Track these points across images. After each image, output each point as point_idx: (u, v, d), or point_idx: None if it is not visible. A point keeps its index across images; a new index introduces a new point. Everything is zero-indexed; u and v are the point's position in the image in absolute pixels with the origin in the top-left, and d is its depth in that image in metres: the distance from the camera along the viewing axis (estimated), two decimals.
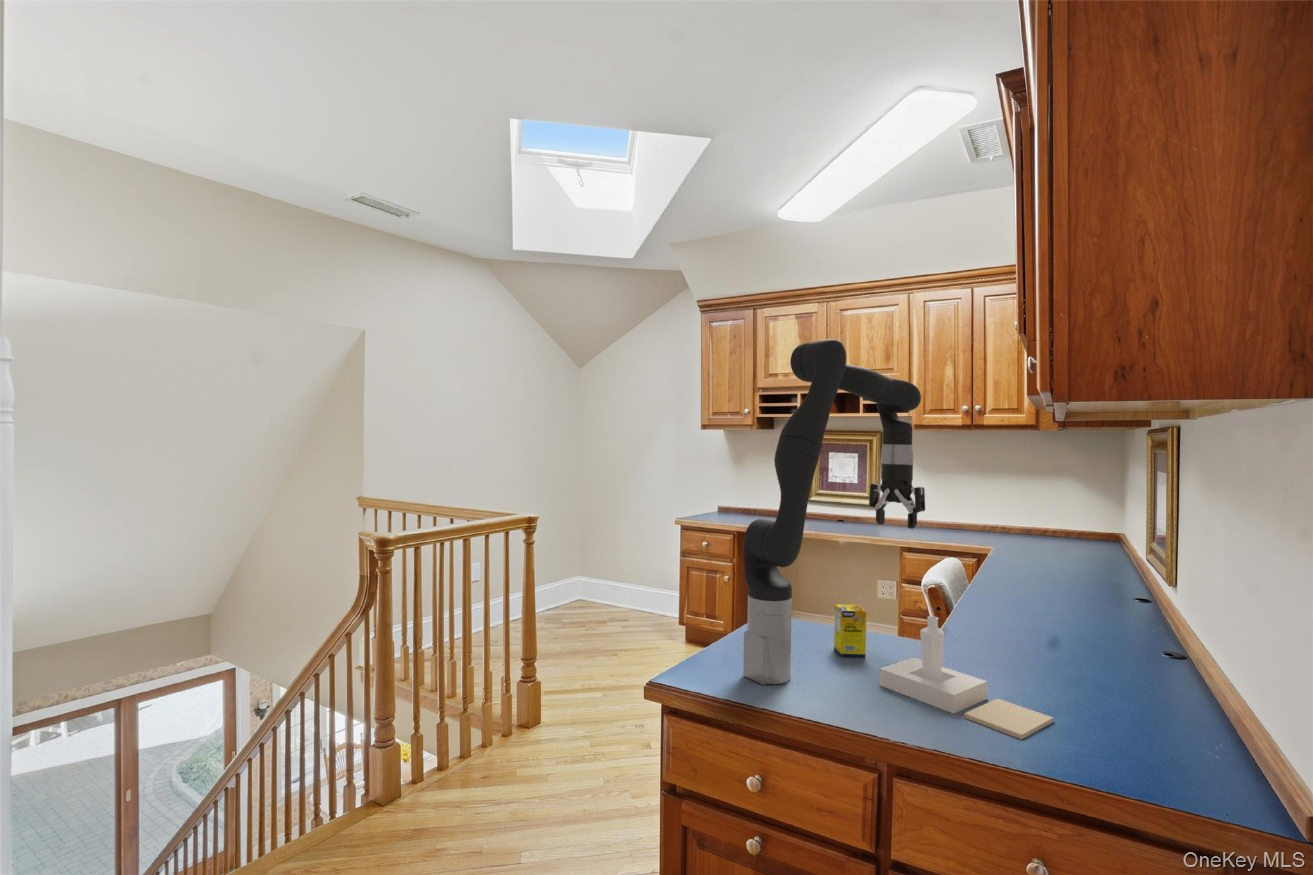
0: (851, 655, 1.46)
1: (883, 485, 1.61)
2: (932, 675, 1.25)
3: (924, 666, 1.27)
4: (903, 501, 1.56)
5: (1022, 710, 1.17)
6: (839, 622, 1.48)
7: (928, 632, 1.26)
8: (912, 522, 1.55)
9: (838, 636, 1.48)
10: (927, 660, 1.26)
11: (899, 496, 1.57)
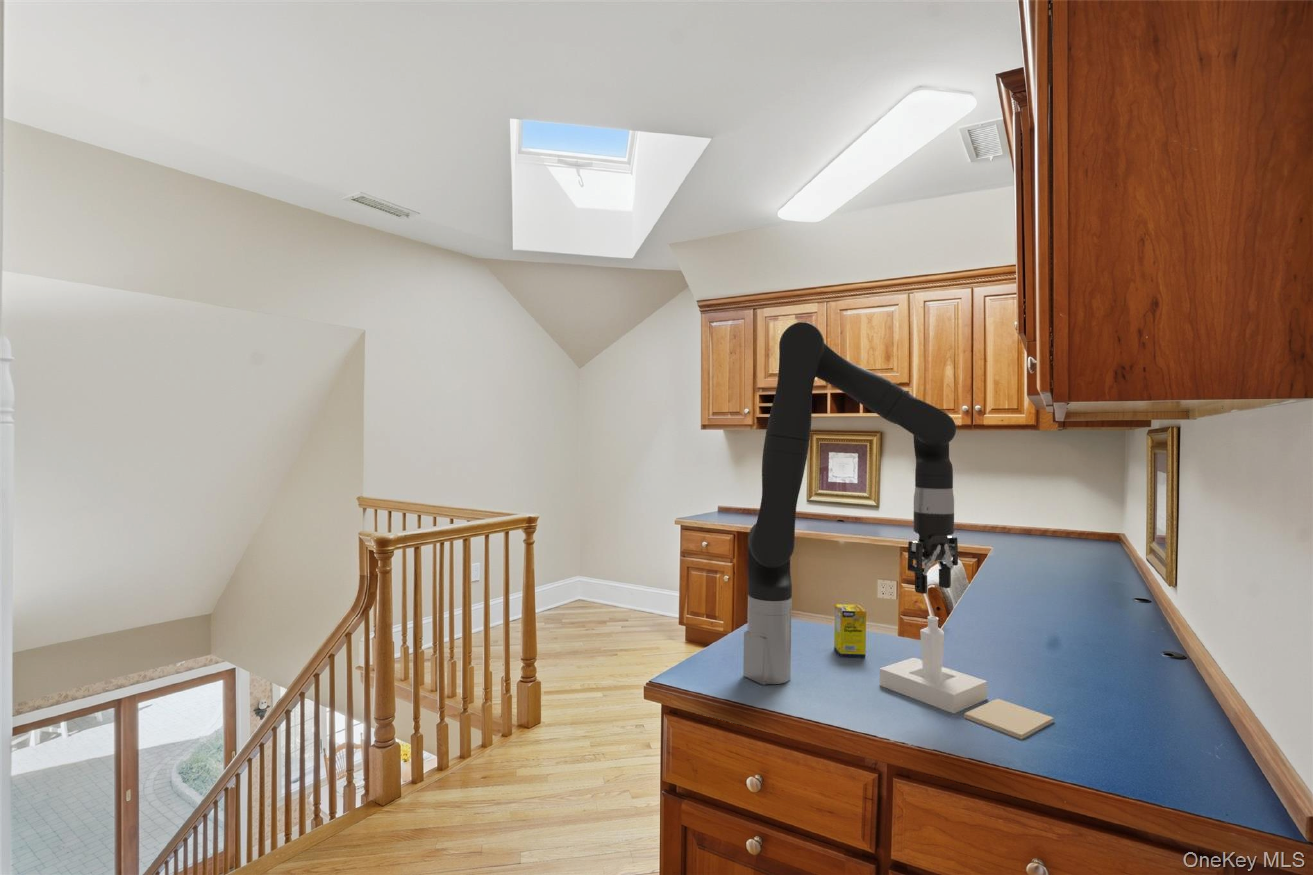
0: (851, 655, 1.46)
1: (930, 541, 1.24)
2: (932, 675, 1.25)
3: (924, 666, 1.27)
4: (949, 557, 1.27)
5: (1022, 710, 1.17)
6: (839, 622, 1.48)
7: (928, 632, 1.26)
8: None
9: (838, 636, 1.48)
10: (927, 660, 1.26)
11: (946, 552, 1.27)
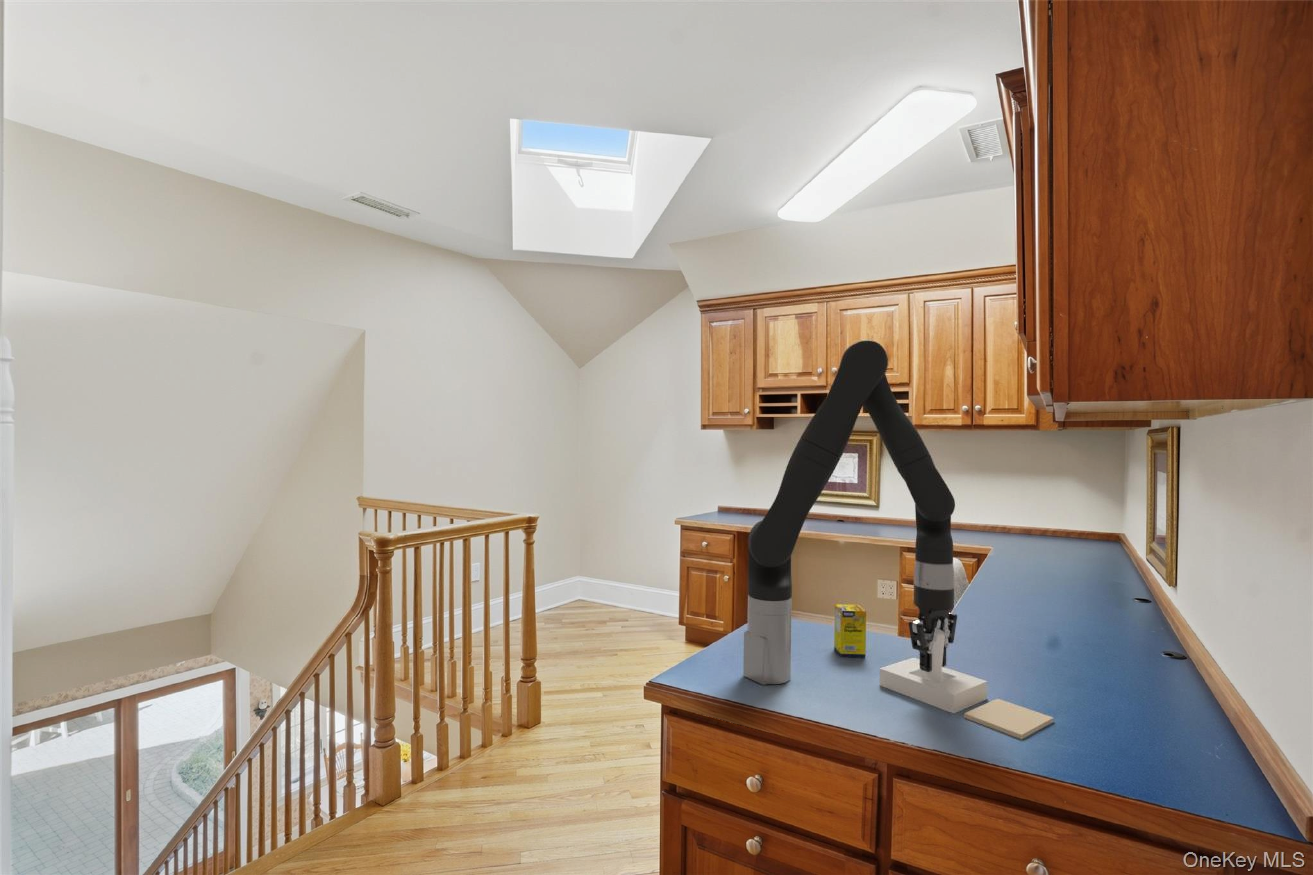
0: (851, 655, 1.46)
1: (929, 617, 1.24)
2: (932, 675, 1.25)
3: None
4: (947, 633, 1.27)
5: (1022, 710, 1.17)
6: (839, 622, 1.48)
7: None
8: None
9: (838, 636, 1.48)
10: None
11: (945, 626, 1.26)
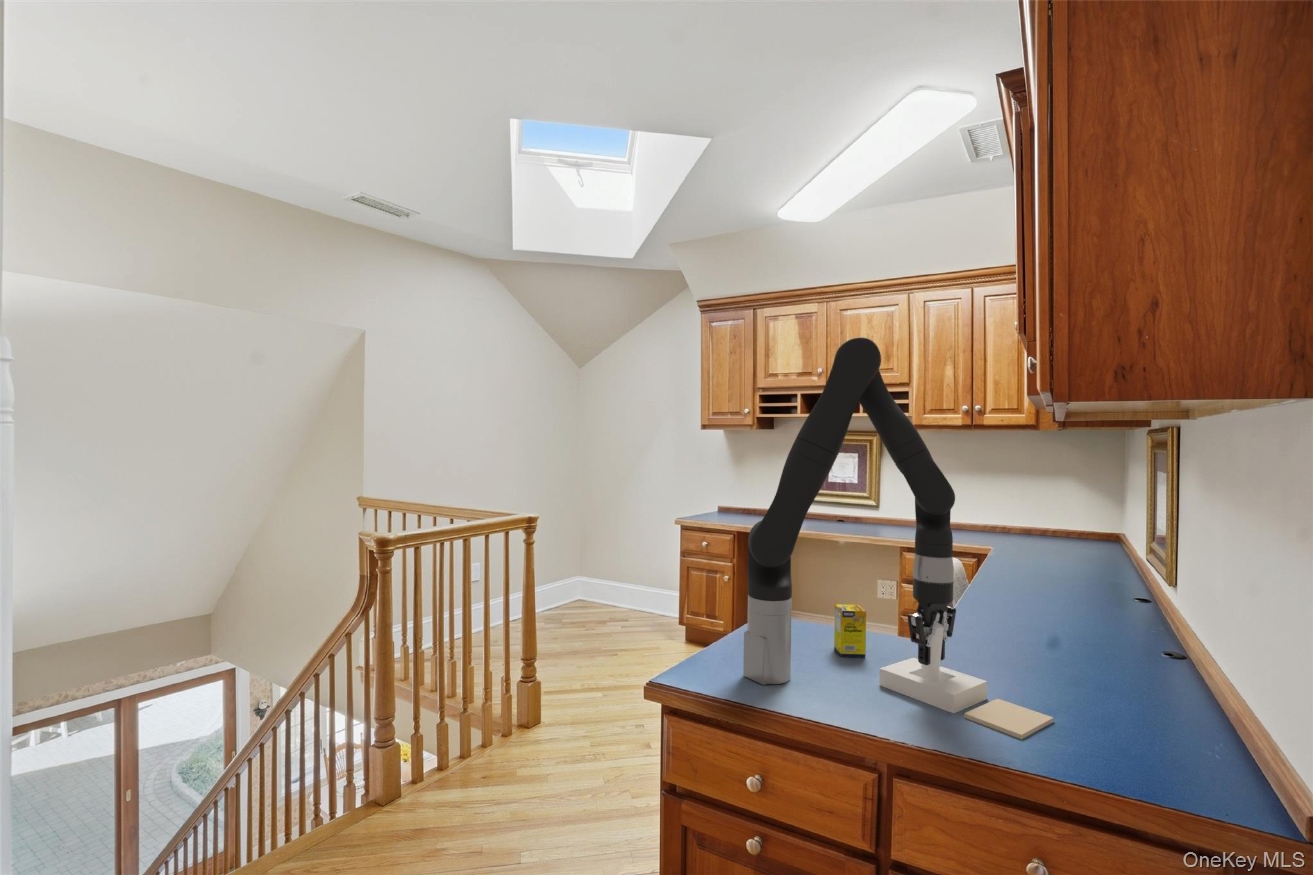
0: (851, 655, 1.46)
1: (928, 610, 1.24)
2: (930, 668, 1.25)
3: None
4: (946, 627, 1.27)
5: (1022, 710, 1.17)
6: (839, 622, 1.48)
7: None
8: None
9: (838, 636, 1.48)
10: None
11: (944, 620, 1.26)
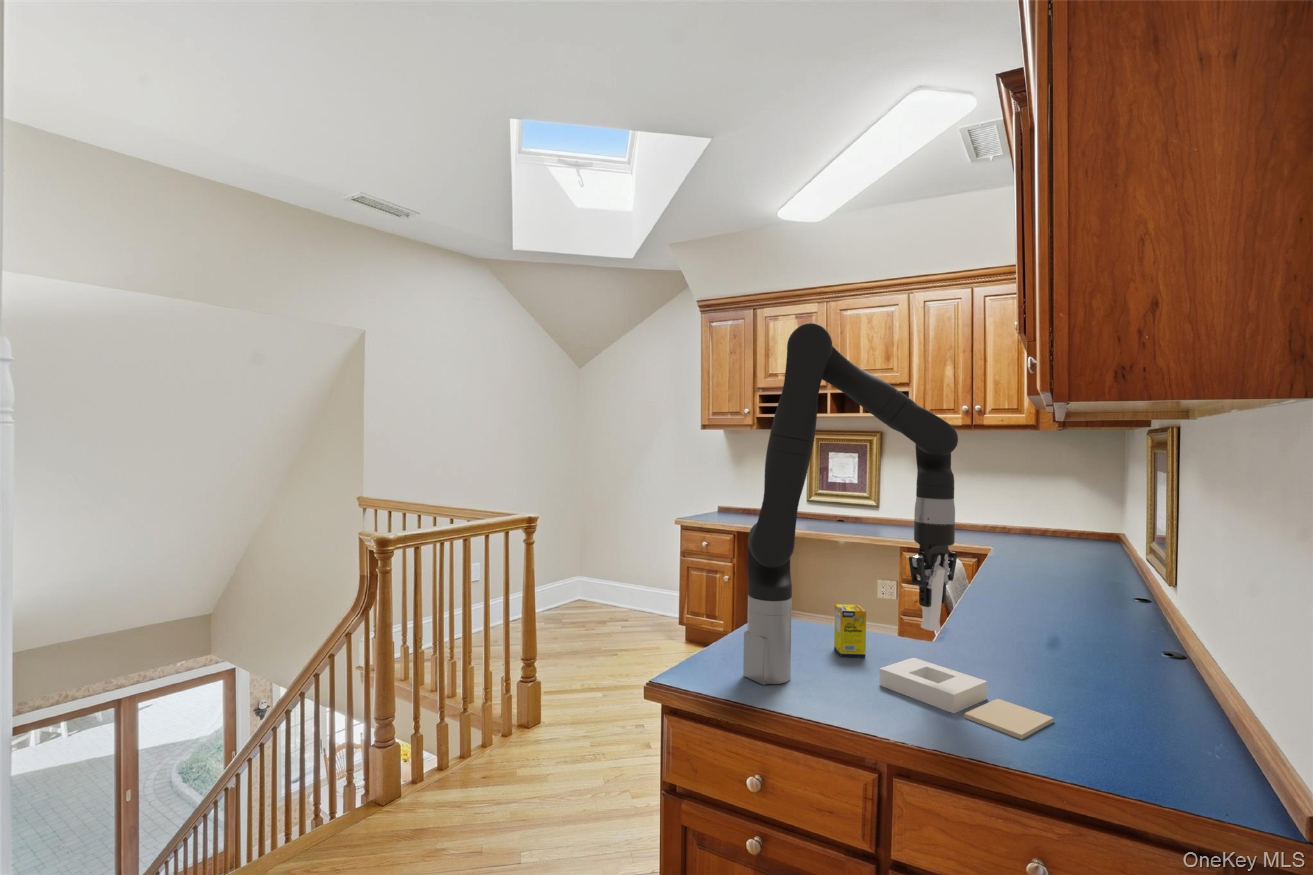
0: (851, 655, 1.46)
1: (929, 552, 1.24)
2: (931, 611, 1.25)
3: None
4: (947, 570, 1.27)
5: (1022, 710, 1.17)
6: (839, 622, 1.48)
7: None
8: None
9: (838, 636, 1.48)
10: None
11: (945, 563, 1.26)
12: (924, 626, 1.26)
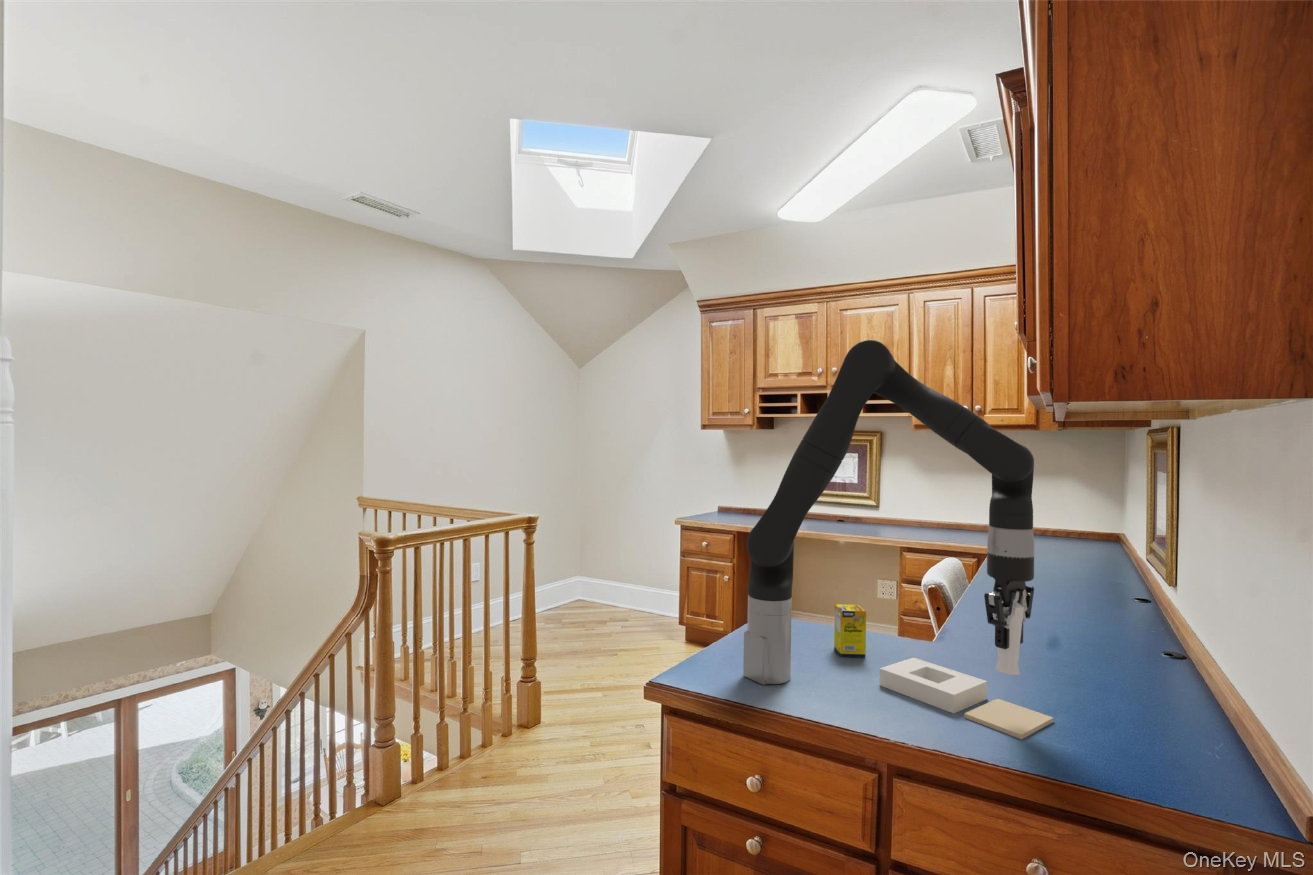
0: (851, 655, 1.46)
1: (1007, 588, 1.12)
2: (1009, 653, 1.13)
3: None
4: (1025, 607, 1.14)
5: (1022, 710, 1.17)
6: (839, 622, 1.48)
7: None
8: None
9: (838, 636, 1.48)
10: None
11: (1023, 599, 1.14)
12: (1000, 669, 1.14)
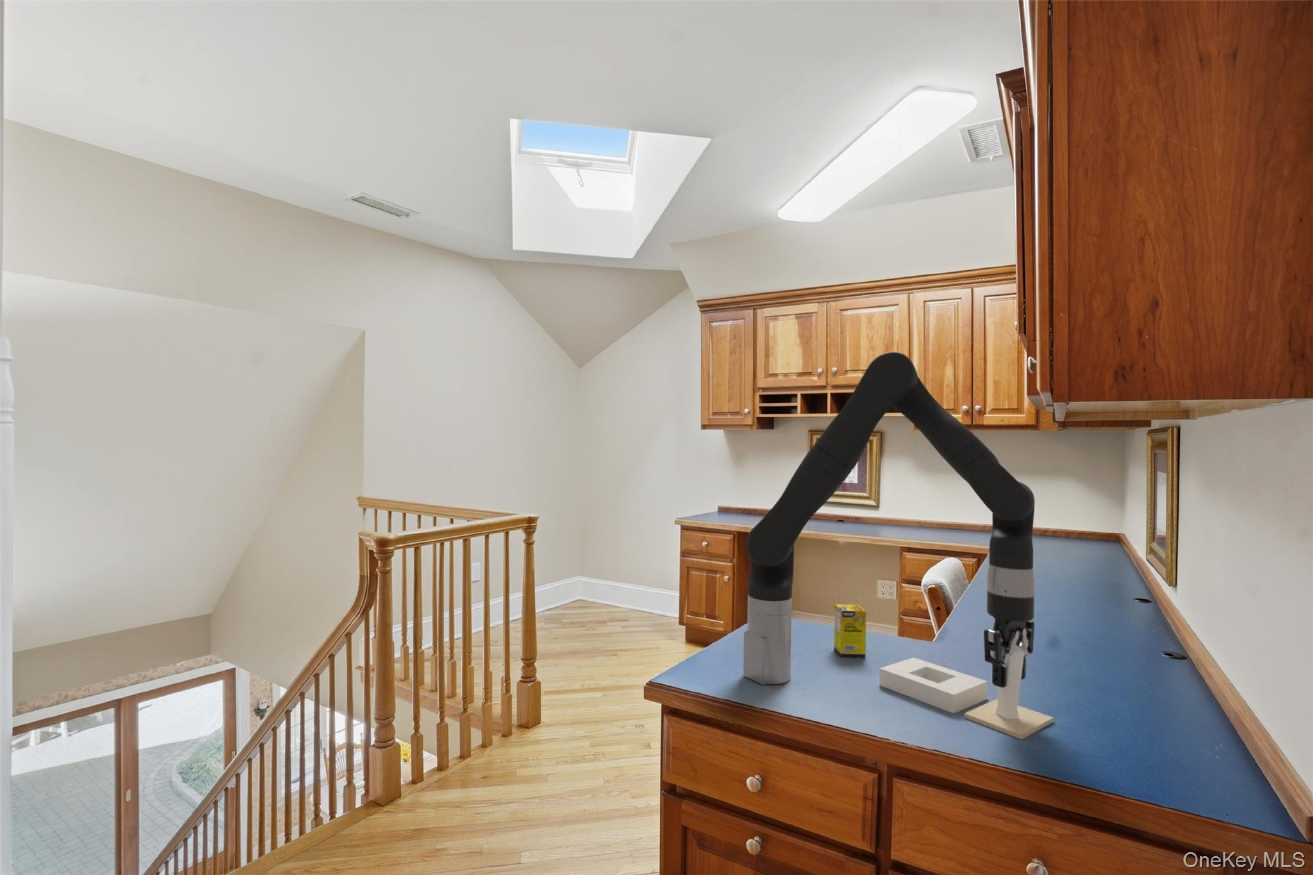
0: (851, 655, 1.46)
1: (1007, 627, 1.12)
2: (1009, 697, 1.13)
3: (999, 687, 1.14)
4: (1026, 644, 1.15)
5: (1022, 710, 1.17)
6: (839, 622, 1.48)
7: None
8: None
9: (838, 636, 1.48)
10: None
11: (1024, 638, 1.14)
12: (1000, 713, 1.14)
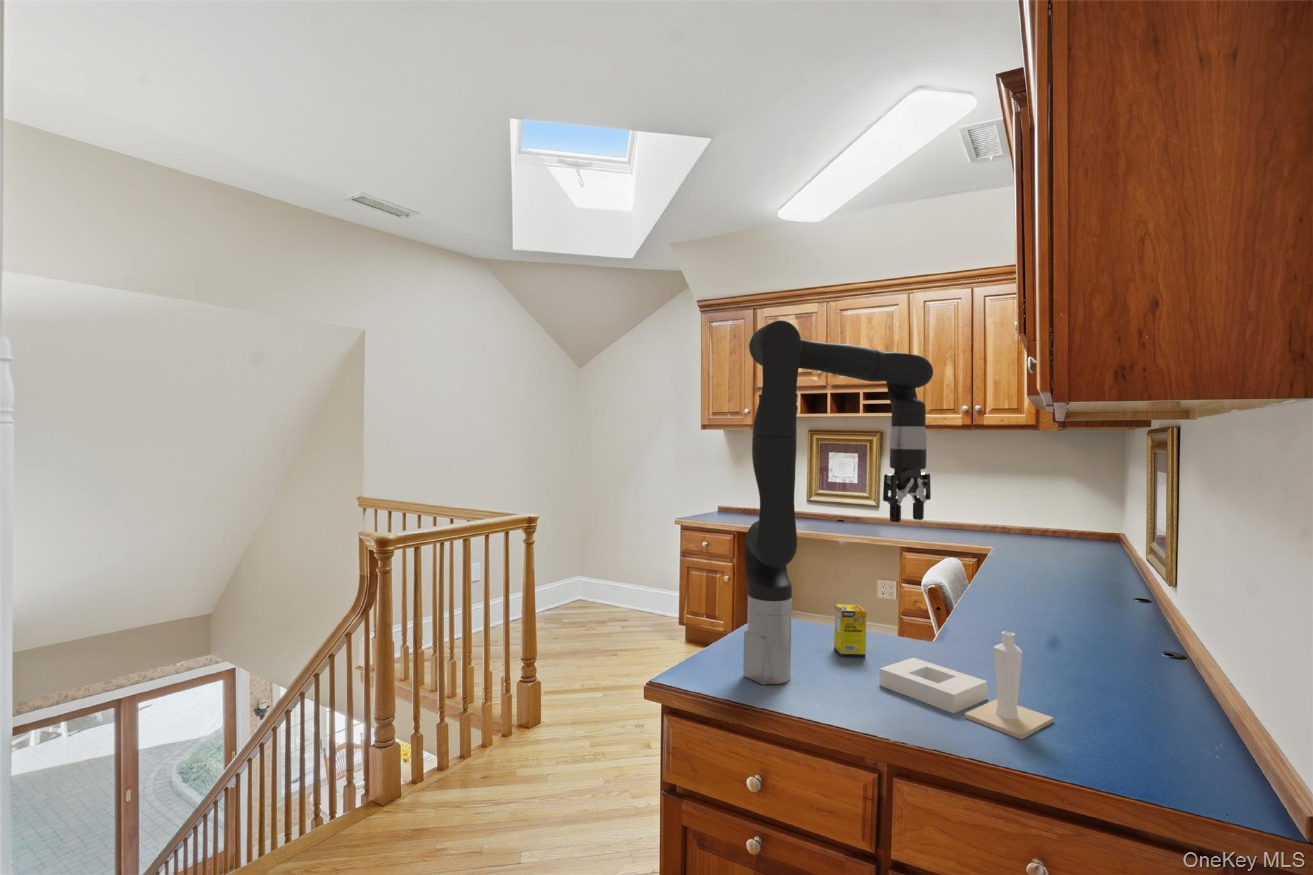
0: (851, 655, 1.46)
1: (904, 475, 1.36)
2: (1008, 697, 1.13)
3: (998, 687, 1.15)
4: (922, 490, 1.39)
5: (1022, 710, 1.17)
6: (839, 622, 1.48)
7: (1004, 649, 1.13)
8: None
9: (838, 636, 1.48)
10: (1002, 681, 1.14)
11: (919, 485, 1.38)
12: (1000, 713, 1.14)
